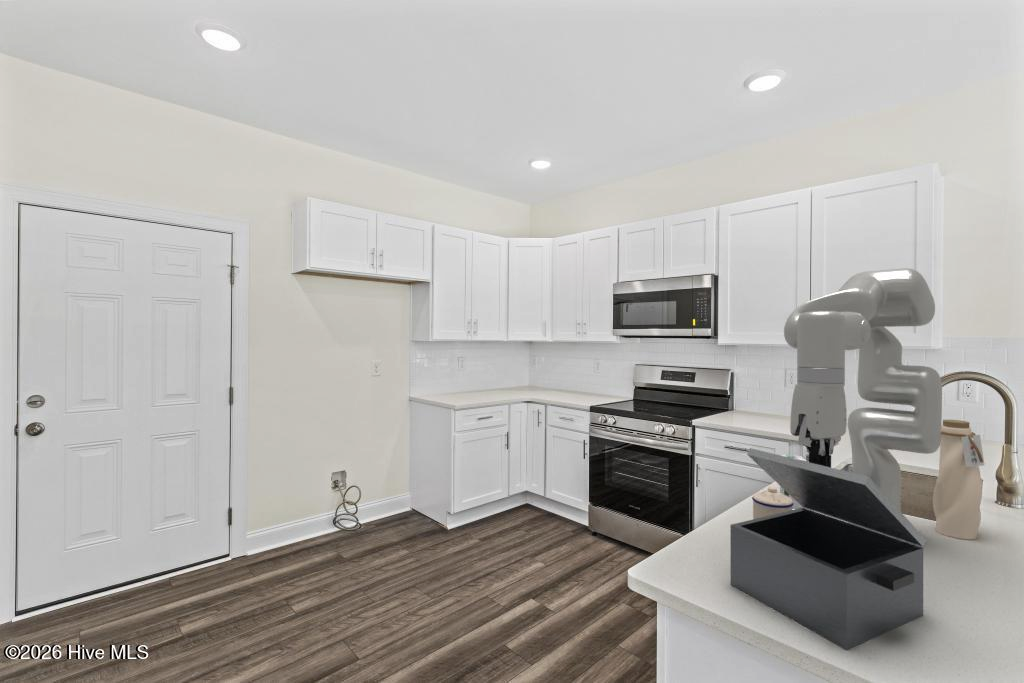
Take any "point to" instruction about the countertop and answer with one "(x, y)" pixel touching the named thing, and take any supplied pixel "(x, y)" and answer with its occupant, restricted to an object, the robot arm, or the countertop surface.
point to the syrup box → (796, 504)
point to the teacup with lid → (770, 503)
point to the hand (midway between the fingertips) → (819, 474)
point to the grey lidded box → (828, 574)
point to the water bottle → (958, 481)
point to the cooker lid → (838, 495)
